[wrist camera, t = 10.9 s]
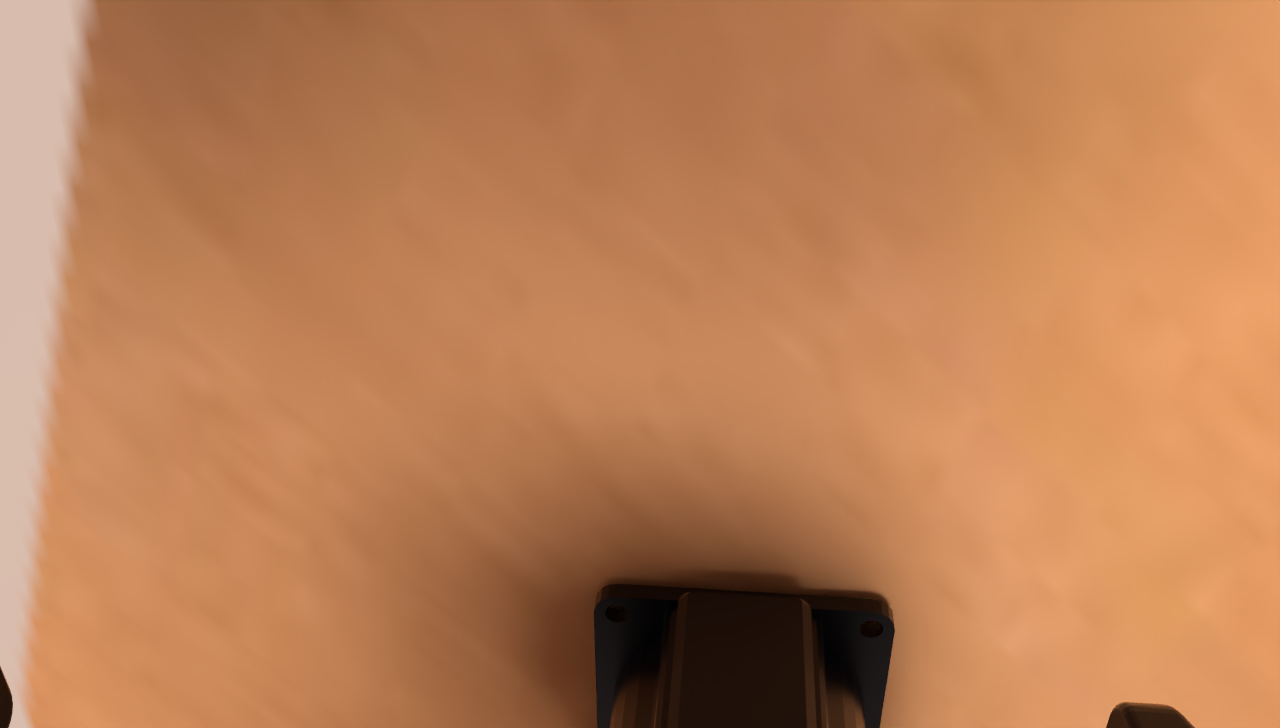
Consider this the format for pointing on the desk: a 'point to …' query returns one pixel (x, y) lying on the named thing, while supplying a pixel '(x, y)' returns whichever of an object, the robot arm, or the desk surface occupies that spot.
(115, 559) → the desk surface
